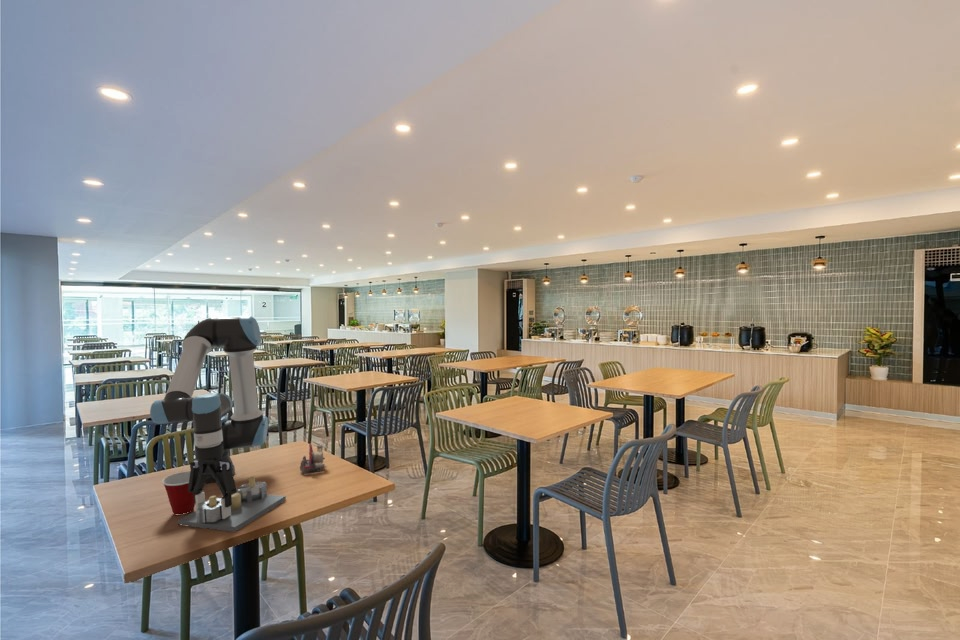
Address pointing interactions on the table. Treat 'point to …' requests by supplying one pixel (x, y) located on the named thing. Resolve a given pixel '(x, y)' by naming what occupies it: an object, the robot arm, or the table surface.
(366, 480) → the table surface
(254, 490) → the seated gear
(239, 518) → the plate
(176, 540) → the table surface
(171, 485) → the plastic cup
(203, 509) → the planet gear
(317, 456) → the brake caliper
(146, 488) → the table surface
